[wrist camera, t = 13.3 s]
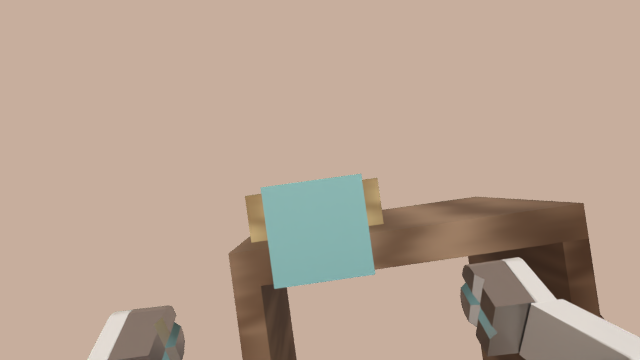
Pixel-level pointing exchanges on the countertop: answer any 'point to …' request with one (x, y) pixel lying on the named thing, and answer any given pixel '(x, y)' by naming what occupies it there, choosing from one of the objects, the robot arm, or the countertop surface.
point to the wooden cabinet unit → (424, 255)
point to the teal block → (317, 231)
